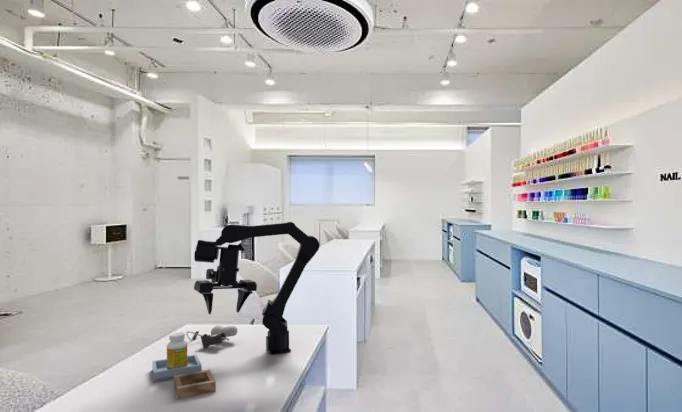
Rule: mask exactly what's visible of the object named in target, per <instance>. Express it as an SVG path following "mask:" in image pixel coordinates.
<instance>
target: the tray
mask: <svg viewBox="0 0 682 412" xmlns="http://www.w3.org/2000/svg"><path fill="white" fill-rule="evenodd" d="M202 367H203V366H202V362H201V361H200V358H199V356H198V354H190V355H187V367H181V368H175V369H169V370H167V358H166V359H165V358H164V359H158V360H152V377H153V383H159V382H160V383H161V382H164V381H165V382H166V381H170V380H174V376H175V375H181V374H187V373H193V372H199V371H203V369H202Z"/></svg>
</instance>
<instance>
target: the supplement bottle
mask: <svg viewBox="0 0 682 412" xmlns="http://www.w3.org/2000/svg"><path fill="white" fill-rule="evenodd" d="M185 334H186V333H184V332H180V331H179V332H174V333H173V332H172V333H170V334H169V336H168V339H169V342H167V344H166V359H167V370H169V369H175V368H181V367H187V356H188V342H187V340H185V338H186V337H185Z"/></svg>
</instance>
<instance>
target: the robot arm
mask: <svg viewBox="0 0 682 412" xmlns="http://www.w3.org/2000/svg"><path fill="white" fill-rule="evenodd" d="M279 235H289V236H290V237H291V238H292V239H293V240H294V241H296V242H297V243H298V244H299V247H298V250H297V253H296V257H295V260H294V262H293V264H292V266H291V268H290V269H289V272H288V273H287V275H286V277H285V279H284V281H283V283H282V285H281V287H280V289H279V291H278V293H277V294H276V296H275V298H274V299H273V300H270V299H267V302H266V305H265V307H264V308H263V309H262V312H261V313H262V314H261V315H262V324H263V326H264V327H265V328H266V329H268V330H267V335H266V336H265V343H266V344H265V349H266V351H267V352H268V353H270V355H277V354H283V353H284V354H285V353H289V352H292V349H291V348H290V330H289V329H288V321H287V320H286V319H285V318H284V317H283V316H284V313H285V308H286V306H287V303H288V301H289V299H290V297H291V295H292V293H293V291H294V289H295V288H296V285H297V283H298V281H299V279H300V278H301V276H302V273H303V271H304V270H305V268H306V267H307V265H308V263H310V261H312V259H313V258H314V256H315V255H316V253H318V251H319V250H320V246H321V245H320V241H319V239H317V238H316V237H315V236H314V235H308V234H306V233H305V232H304V231H303V230H302V229H300V227H298V226H296V224H295V223H294V222H292V221H287V222H281V223H270V224H268V223H267V224H259V225H245V224H235V223H231V224H228V225H225V226H224V227H223V228H222V230H221V234H220V236H219V237H218V238H217V239H215V241H211V240H210V241H209V240H208V241H207V240H204V239H198V240H197V244H196V247H195V250H194V262H198V263H199V262H200V263H211V264H214V263H215V260H216V261H217V260H218V259H219V261H218V262H219V263H218V265H217V268H216V270H215V269H214V268H207V269H206V272H205V273H206V274H205V280H204V279H203V280H196V281H195V282H194V286H193V290H194V291H196V292H197V293H199V295H200V294H201V295H202V297H203V298H204V302H205V307H206V310H207V314H208V315H212V310H213V304H214V303H213V300H214V293H213V290H226V289H227V290H228V289H236V290H237V300H236V301H237V302H236V309H235V310H236V313H239V312H240V311H241V309H242V308H243V306H244V304H245V302H246V301H247V299H248V298H249V296H250V295H251V294H253V292H256V291H257V290H258V283H257V282H256V281H254V280H252V279H239V281H237V276H238V273H239V271H240V268H239V267H238V265H239V256H240V255H239V254H240V252H245V250H246V247H244V245H243V244H242V241H244V240H248V239H252V238H260V237H268V236H269V237H270V236H279ZM237 242H239V243H238V244H233V243H237ZM224 244H228V245H227V246H223V245H224Z"/></svg>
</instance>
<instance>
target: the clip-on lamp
mask: <svg viewBox="0 0 682 412" xmlns="http://www.w3.org/2000/svg"><path fill="white" fill-rule="evenodd" d="M199 332H200V330H197V331H195V332H193V331H186V332H185V334H186V337H187V338H188V340H189V341H191V342H193V341H195V340H196V339H197V336H199V337H200V340H201V344H202V348H203V349H207V348H208V346H209V347H210V346H212V345H213V346H214V345H217V344H221V343H223V341H225V340H227V341H228V342H230V338H229V337H233V336H234V337H235V336H236V335H238V327H237V326H235V325H229V326H222V325H215V326H213V327H212V329H211V330H210V334H207V333H205V334H202V335H201V334H200V333H199ZM188 333H191V334H193V335H192V338H190V337H189V334H188Z"/></svg>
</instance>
